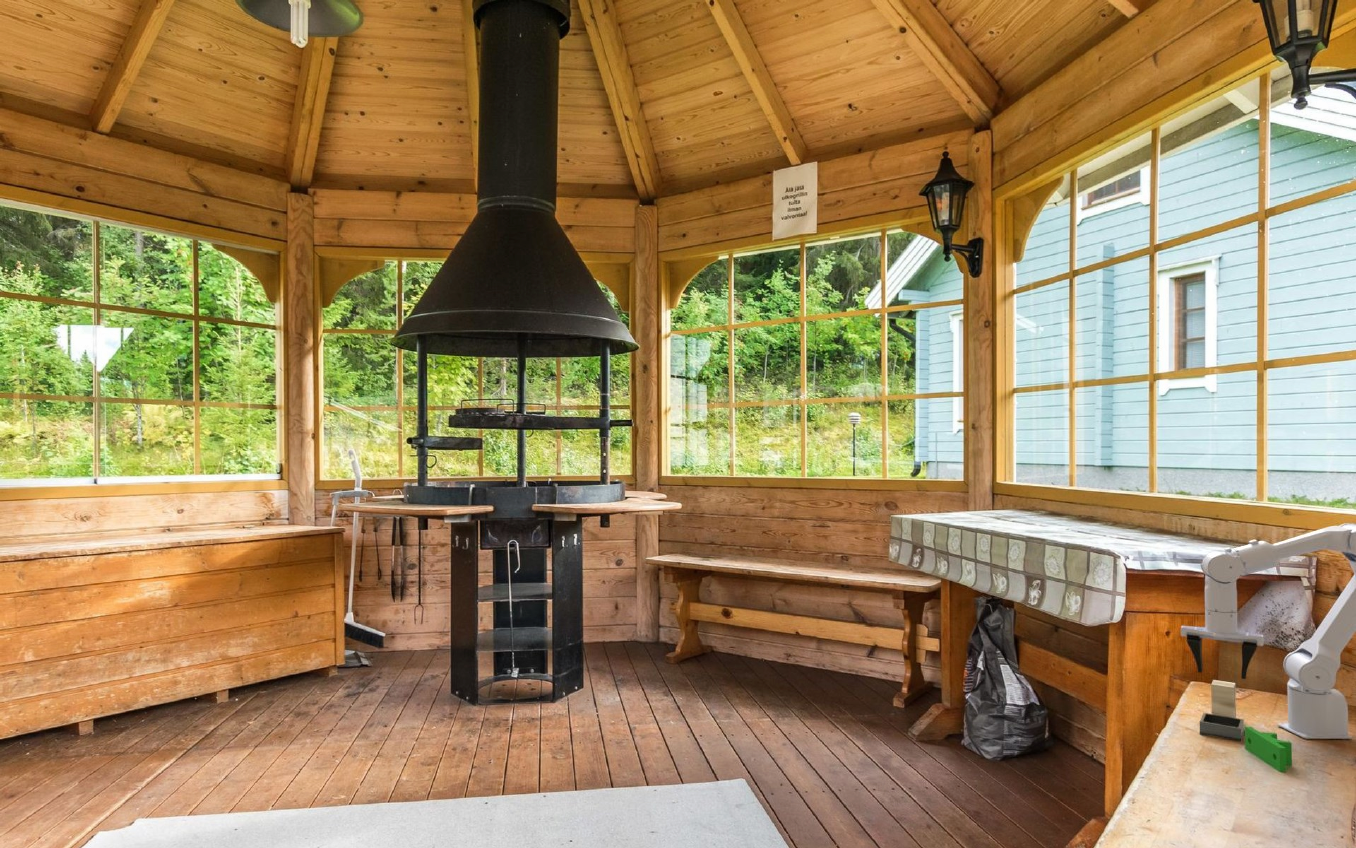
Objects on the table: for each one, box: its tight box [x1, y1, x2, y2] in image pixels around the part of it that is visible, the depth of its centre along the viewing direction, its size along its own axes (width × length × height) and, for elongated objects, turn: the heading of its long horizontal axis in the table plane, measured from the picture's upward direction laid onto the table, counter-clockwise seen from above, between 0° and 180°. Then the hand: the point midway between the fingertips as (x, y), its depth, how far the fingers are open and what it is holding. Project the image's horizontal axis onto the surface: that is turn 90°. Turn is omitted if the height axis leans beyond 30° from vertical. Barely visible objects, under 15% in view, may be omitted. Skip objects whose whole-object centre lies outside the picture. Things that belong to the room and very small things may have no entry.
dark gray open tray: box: [1199, 712, 1245, 742], centre depth 169 cm, size 7×7×2 cm
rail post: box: [1210, 679, 1237, 718], centre depth 176 cm, size 4×4×8 cm
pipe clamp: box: [1244, 726, 1293, 773], centre depth 155 cm, size 11×4×5 cm, turn 173°
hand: (1221, 674), depth 174 cm, fingers open, 7 cm apart
